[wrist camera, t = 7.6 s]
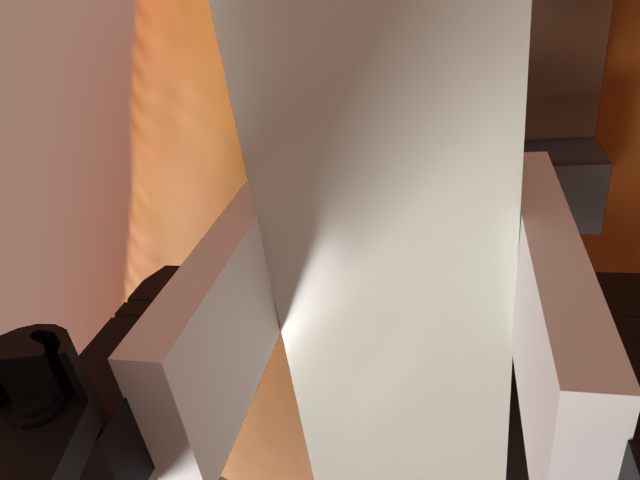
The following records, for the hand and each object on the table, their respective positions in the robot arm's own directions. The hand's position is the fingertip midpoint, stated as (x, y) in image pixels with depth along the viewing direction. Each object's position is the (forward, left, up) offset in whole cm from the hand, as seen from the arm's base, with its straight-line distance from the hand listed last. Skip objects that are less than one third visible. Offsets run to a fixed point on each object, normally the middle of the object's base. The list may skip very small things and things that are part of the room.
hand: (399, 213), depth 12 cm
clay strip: (0, 0, -1) cm, 1 cm away
